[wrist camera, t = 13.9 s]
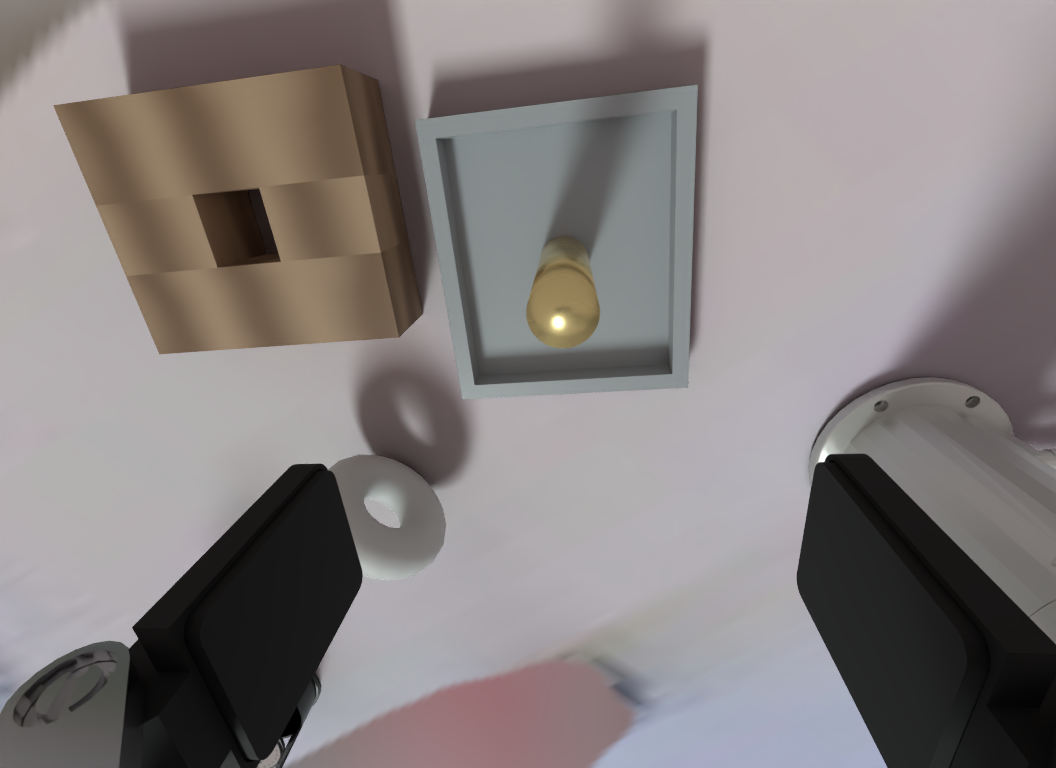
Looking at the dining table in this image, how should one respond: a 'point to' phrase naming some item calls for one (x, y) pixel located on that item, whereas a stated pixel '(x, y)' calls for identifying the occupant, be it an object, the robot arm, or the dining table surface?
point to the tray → (566, 210)
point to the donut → (410, 501)
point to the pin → (563, 295)
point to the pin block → (228, 218)
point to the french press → (293, 726)
